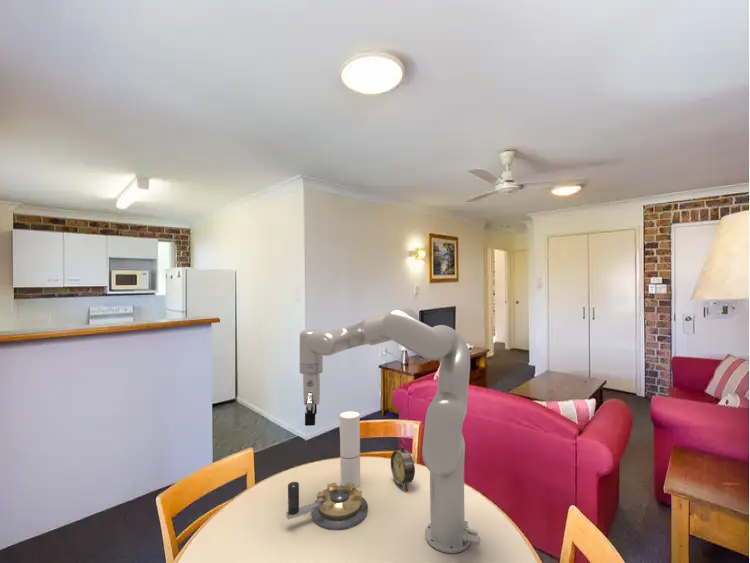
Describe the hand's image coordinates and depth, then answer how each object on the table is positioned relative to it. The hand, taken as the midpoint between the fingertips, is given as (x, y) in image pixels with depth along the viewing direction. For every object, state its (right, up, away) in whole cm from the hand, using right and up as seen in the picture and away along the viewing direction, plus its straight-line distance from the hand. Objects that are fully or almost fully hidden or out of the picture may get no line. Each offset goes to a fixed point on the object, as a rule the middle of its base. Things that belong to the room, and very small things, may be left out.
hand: (311, 419), depth 120 cm
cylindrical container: (+12, -28, +12) cm, 33 cm away
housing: (+10, -28, -4) cm, 30 cm away
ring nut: (+6, -26, -7) cm, 27 cm away
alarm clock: (+32, -28, +11) cm, 44 cm away
